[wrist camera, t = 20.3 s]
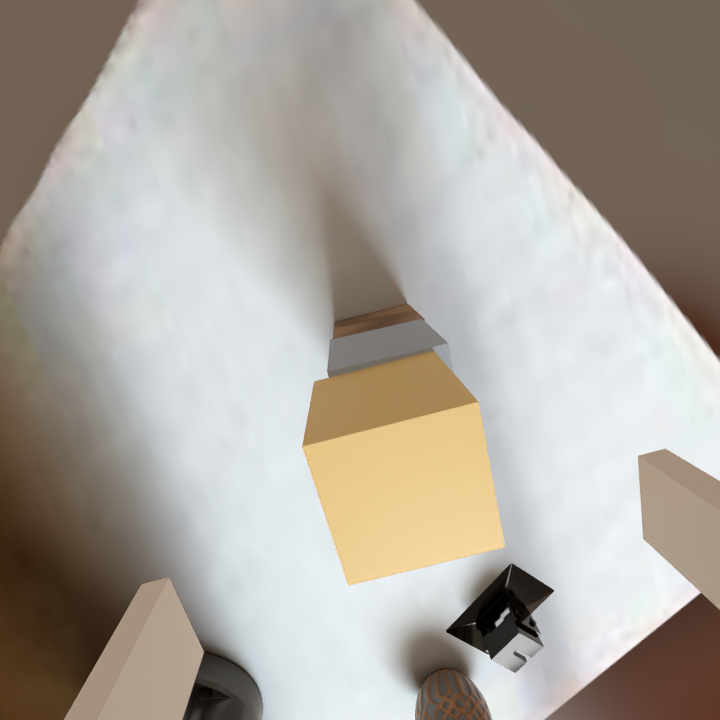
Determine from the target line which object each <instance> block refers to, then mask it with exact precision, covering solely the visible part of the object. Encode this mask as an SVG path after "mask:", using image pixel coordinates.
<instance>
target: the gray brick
mask: <svg viewBox="0 0 720 720" xmlns="http://www.w3.org/2000/svg"><path fill="white" fill-rule="evenodd" d="M431 351H435V353H436V354H437V355H438V356H439V357H440V358H441V360H442V361H443V362H444V363H445V364H446V365H447V366H448V368H449V369H450V370H451V371H452V372H453V369H452V363H451V357H450V351H449V345H448V343H447V342H446V341H445V340H444V339H443V338H442V337H441V336H440V335H439V334H438V333H437V332H435V331H434V330H433V329H432V328H431V327H430V326H429V325H428V324H427V323H426V322H425V321H424V320H423V319H419V320H415V321H410V322H406V323H402V324H397V325H393V326H389V327H384V328H380V329H376V330H371V331H367V332H363V333H358V334H354V335H350V336H345V337H341V338H337V339H332V340H330V349H329V359H328V369H327V372H328V376H329V378H330V377H334V376H338V375H342V374H346V373H350V372H354V371H357V370H361V369H365V368H369V367H373V366H377V365H381V364H385V363H388V362H392V361H396V360H400V359H404V358H408V357H412V356H416V355H419V354H423V353H427V352H431Z"/></svg>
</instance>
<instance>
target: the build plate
mask: <svg viewBox="0 0 720 720" xmlns="http://www.w3.org/2000/svg"><path fill="white" fill-rule="evenodd" d="M553 592H554V590H553V589H551V588H550V587H548V586H547V585H545V584H544V583H542V582H540V581H539V580H537V579H536V578H534V577H533V576H531V575H530V574H528V573H526V572H525V571H523V570H522V569H520V568H519V567H517V566H515V565H514V564H510V565H509V566H508V567H507V568H506V569H505V570H504V571H503V572H502V573H501V574H500V575H499V576H498V577H497V578H496V579H495V580H494V581H493V583H492V584H491V585H490V586H489V587H488V588H487V589H486V590H485V591H484V592H483V593H482V594H481V595H480V596H479V597H478V598H477V599H476V600H475V601H474V602H473V603H472V604H471V605H470V606H469V607H468V608H467V610H466V611H465V612H464V613H463V614H462V615H461V616H460V617H459V618H458V619H457V620H456V621H455V622H454V623H453V624H452V625H451V626H450V627H449V628H448V629H447V630H446V632H447V633H449V634H451V635H453V636H455V637H456V638H458V639H460V640H462V641H464V642H466V643H468V644H469V645H471V646H473V647H475V648H477V649H479V650H481V651H482V652H484V653H486V654H489V655H490V658H491V660H493V661H495V662H496V663H498V664H500V665H502V666H504V667H506V668H507V669H509V670H511V671H513V672H515V673H516V672H517V671H518V670H519V669H520V668H521V667H522V666H523V665H524V664H525V663H526V662H527V660H526V658H525V657H524V656H522V655H521V654H519V653H517V652H515V651H516V650H519V651H521V652H523V653H524V654H526V655H528V656H530V657H533V656H534V655H535V654H536V653H537V652H538V651H539V650H540V649H541V648H542V647H543V644H542V642H541V640H540V638H539V635H540V634H541V633H540V631H539V629H538V628H537V626H536V622H535V621H534V620H533V618H532V616H531V613H532V612H533V611H534V610H535V609H536V608H537V607H538V606H539V605H540V604H541V603H542V602H543V601H544V600H546V599H547V598H548V597H549V596H550V595H551V594H552V593H553Z"/></svg>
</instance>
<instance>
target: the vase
mask: <svg viewBox="0 0 720 720" xmlns="http://www.w3.org/2000/svg"><path fill="white" fill-rule="evenodd" d="M415 720H492V718H491V714H490V711H489V709H488V706H487V704H486V701H485V699H484V698H483V696H482V694H481V692H480V691H479V689H478V688H477V687H476V685H475V684H474V683H473V682H472V681H471V680H470V679H469V678H467V677H466V676H465V675H463V674H461V673H459V672H457V671H454V670H448V669H446V670H440V671H437V672H435V673H433V674H431V675H430V676H429V677H428V678H427V679H426V680H425V682H424V683H423V685H422V686H421V688H420V691H419V693H418V696H417V701H416V709H415Z"/></svg>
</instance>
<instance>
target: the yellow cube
mask: <svg viewBox="0 0 720 720" xmlns="http://www.w3.org/2000/svg"><path fill="white" fill-rule="evenodd" d="M302 447H303V450H304V453H305V456H306V459H307V462H308V465H309V468H310V471H311V474H312V477H313V480H314V483H315V486H316V489H317V492H318V495H319V498H320V501H321V504H322V508H323V511H324V514H325V517H326V520H327V523H328V526H329V529H330V532H331V535H332V538H333V541H334V544H335V547H336V550H337V553H338V556H339V559H340V562H341V565H342V568H343V571H344V574H345V577H346V580H347V583H348V586H349V585H353V584H357V583H361V582H365V581H369V580H374V579H378V578H382V577H386V576H390V575H394V574H398V573H402V572H406V571H410V570H414V569H418V568H423V567H427V566H431V565H435V564H439V563H443V562H447V561H451V560H455V559H459V558H463V557H467V556H472V555H476V554H480V553H484V552H488V551H492V550H496V549H500V548H504V547H505V544H504V539H503V533H502V528H501V523H500V517H499V512H498V506H497V501H496V495H495V490H494V484H493V479H492V473H491V468H490V462H489V457H488V452H487V446H486V441H485V435H484V430H483V424H482V419H481V413H480V408H479V402H478V401H477V400H476V399H475V397H474V396H473V395H472V394H471V393H470V392H469V391H468V389H467V388H466V387H465V386H464V385H463V384H462V382H461V381H460V380H459V379H458V378H457V377H456V376H455V374H454V373H453V372H452V371H451V370H450V369H449V368H448V366H447V365H446V364H445V363H444V362H443V361H442V360H441V358H440V357H439V356H438V355H437V354H436V353H435V351H431V352H427V353H423V354H419V355H416V356H412V357H408V358H404V359H400V360H396V361H392V362H388V363H385V364H381V365H377V366H373V367H369V368H365V369H361V370H357V371H354V372H350V373H346V374H342V375H338V376H334V377H330V378H326V379H323V380H319V381H315V382H314V386H313V392H312V397H311V402H310V408H309V413H308V419H307V424H306V429H305V435H304V440H303V446H302Z"/></svg>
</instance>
